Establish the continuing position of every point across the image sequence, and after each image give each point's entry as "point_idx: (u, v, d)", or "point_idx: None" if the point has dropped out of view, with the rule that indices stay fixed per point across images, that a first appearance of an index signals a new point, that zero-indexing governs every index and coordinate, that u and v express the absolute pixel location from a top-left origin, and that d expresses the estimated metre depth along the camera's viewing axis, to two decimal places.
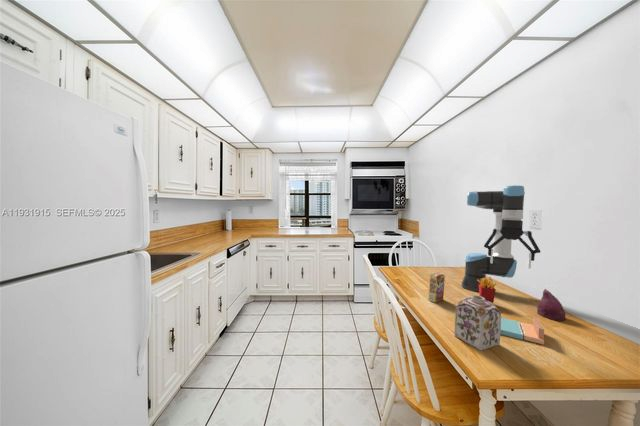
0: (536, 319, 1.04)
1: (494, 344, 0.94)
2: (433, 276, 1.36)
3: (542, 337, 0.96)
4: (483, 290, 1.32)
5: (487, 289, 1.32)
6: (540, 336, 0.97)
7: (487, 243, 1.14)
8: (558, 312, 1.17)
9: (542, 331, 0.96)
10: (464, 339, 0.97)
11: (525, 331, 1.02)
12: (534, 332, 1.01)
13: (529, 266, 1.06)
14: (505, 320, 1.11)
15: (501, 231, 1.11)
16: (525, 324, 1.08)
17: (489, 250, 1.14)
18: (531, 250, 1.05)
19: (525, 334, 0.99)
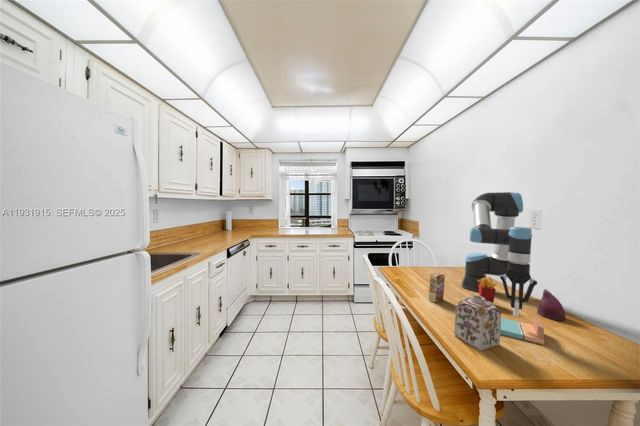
0: (536, 319, 1.04)
1: (494, 344, 0.94)
2: (433, 276, 1.36)
3: (542, 337, 0.96)
4: (483, 290, 1.32)
5: (487, 289, 1.32)
6: (540, 336, 0.97)
7: (507, 293, 1.06)
8: (558, 312, 1.17)
9: (542, 331, 0.96)
10: (464, 339, 0.97)
11: (525, 331, 1.02)
12: (534, 332, 1.01)
13: (517, 315, 1.04)
14: (505, 320, 1.11)
15: (507, 275, 1.06)
16: (525, 324, 1.08)
17: (512, 301, 1.05)
18: (521, 298, 1.03)
19: (525, 334, 0.99)
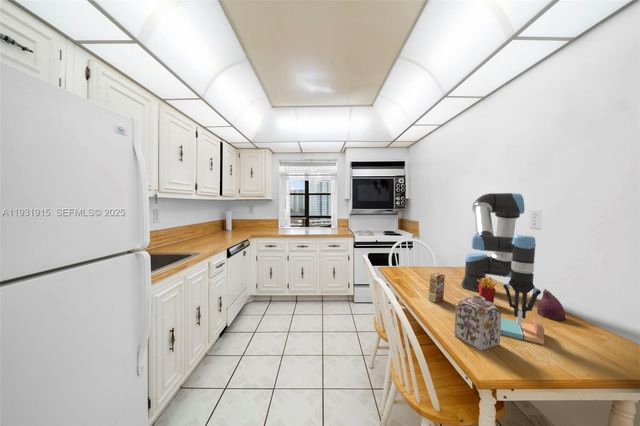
0: (536, 319, 1.04)
1: (494, 344, 0.94)
2: (433, 276, 1.36)
3: (542, 337, 0.96)
4: (483, 290, 1.32)
5: (487, 289, 1.32)
6: (540, 336, 0.97)
7: (510, 302, 1.06)
8: (558, 312, 1.17)
9: (542, 331, 0.96)
10: (464, 339, 0.97)
11: (525, 331, 1.02)
12: (534, 332, 1.01)
13: (520, 324, 1.04)
14: (505, 320, 1.11)
15: (511, 284, 1.05)
16: (525, 324, 1.08)
17: (515, 310, 1.05)
18: (524, 307, 1.03)
19: (525, 334, 0.99)
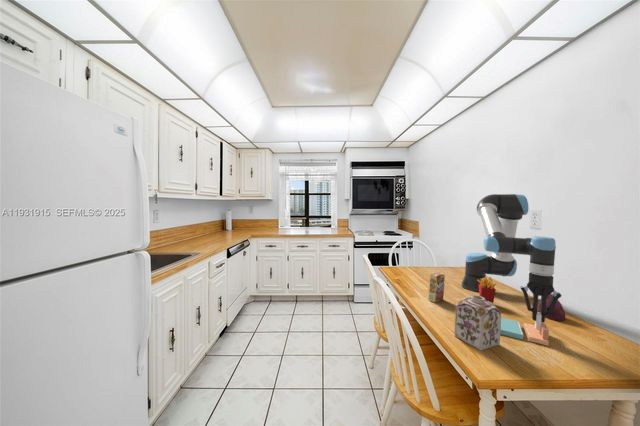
0: None
1: (494, 344, 0.94)
2: (433, 276, 1.36)
3: (546, 338, 0.96)
4: (483, 290, 1.32)
5: (487, 289, 1.32)
6: (544, 337, 0.96)
7: (528, 305, 1.02)
8: (558, 312, 1.17)
9: (546, 332, 0.96)
10: (464, 339, 0.97)
11: (529, 332, 1.01)
12: (538, 333, 1.00)
13: (539, 328, 1.00)
14: (505, 320, 1.11)
15: (529, 287, 1.02)
16: (529, 325, 1.07)
17: (534, 314, 1.01)
18: (543, 311, 0.99)
19: (529, 335, 0.99)
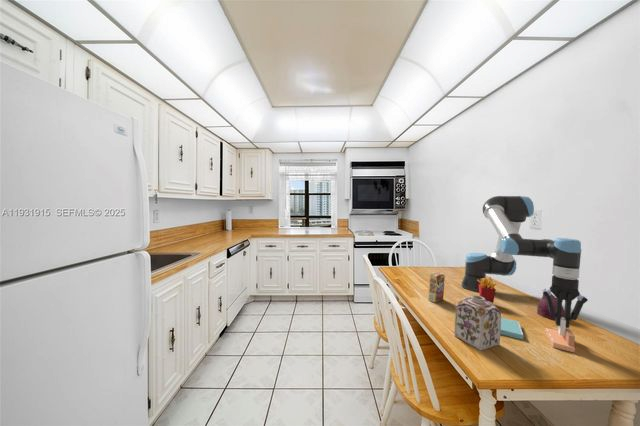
0: None
1: (494, 344, 0.94)
2: (433, 276, 1.36)
3: (572, 344, 0.92)
4: (483, 290, 1.32)
5: (487, 289, 1.32)
6: (570, 343, 0.92)
7: (552, 310, 0.98)
8: None
9: (572, 338, 0.92)
10: (464, 339, 0.97)
11: (553, 338, 0.97)
12: (562, 339, 0.96)
13: (563, 333, 0.96)
14: (505, 320, 1.11)
15: (552, 290, 0.98)
16: (551, 330, 1.03)
17: (558, 319, 0.97)
18: (568, 316, 0.95)
19: (553, 341, 0.95)
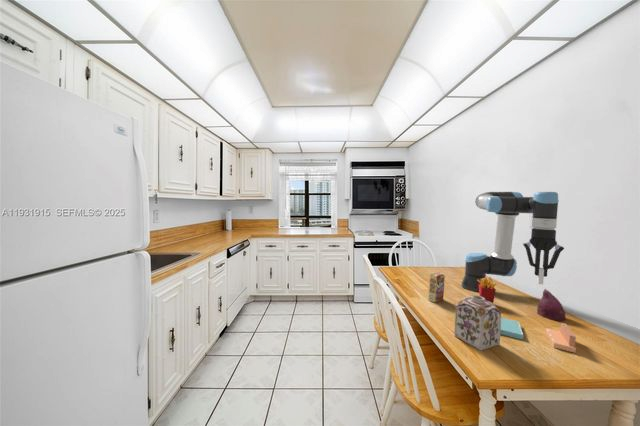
0: (564, 325, 0.99)
1: (494, 344, 0.94)
2: (433, 276, 1.36)
3: (573, 345, 0.91)
4: (483, 290, 1.32)
5: (487, 289, 1.32)
6: (571, 344, 0.92)
7: (531, 261, 1.03)
8: (558, 312, 1.17)
9: (573, 338, 0.91)
10: (464, 339, 0.97)
11: (554, 338, 0.97)
12: (563, 339, 0.96)
13: (541, 282, 1.01)
14: (505, 320, 1.11)
15: (532, 242, 1.02)
16: (552, 330, 1.03)
17: (536, 269, 1.02)
18: (546, 265, 1.00)
19: (554, 341, 0.95)
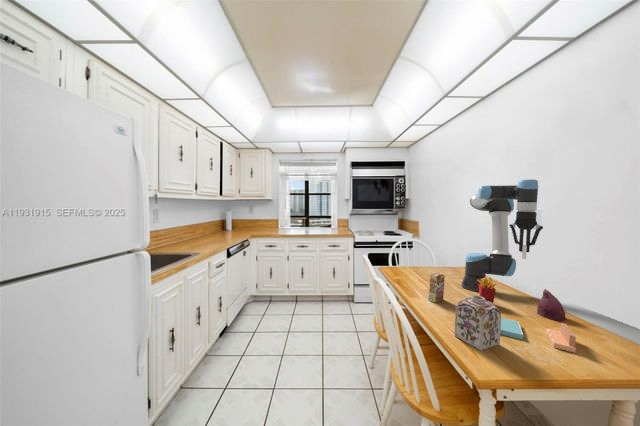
0: (564, 325, 0.99)
1: (494, 344, 0.94)
2: (433, 276, 1.36)
3: (573, 345, 0.91)
4: (483, 290, 1.32)
5: (487, 289, 1.32)
6: (571, 344, 0.92)
7: (516, 239, 1.20)
8: (558, 312, 1.17)
9: (573, 338, 0.91)
10: (464, 339, 0.97)
11: (554, 338, 0.97)
12: (563, 339, 0.96)
13: (524, 257, 1.18)
14: (505, 320, 1.11)
15: (516, 223, 1.19)
16: (552, 330, 1.03)
17: (520, 246, 1.19)
18: (528, 242, 1.17)
19: (554, 341, 0.95)
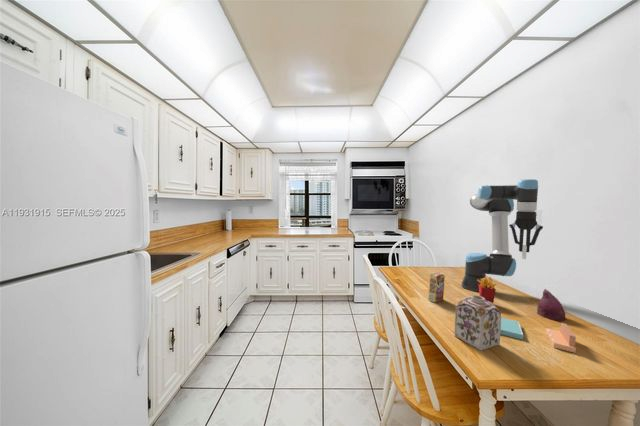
0: (564, 325, 0.99)
1: (494, 344, 0.94)
2: (433, 276, 1.36)
3: (573, 345, 0.91)
4: (483, 290, 1.32)
5: (487, 289, 1.32)
6: (571, 344, 0.92)
7: (515, 239, 1.20)
8: (557, 312, 1.17)
9: (573, 338, 0.91)
10: (464, 339, 0.97)
11: (554, 338, 0.97)
12: (563, 339, 0.96)
13: (524, 257, 1.18)
14: (505, 320, 1.11)
15: (516, 223, 1.19)
16: (552, 330, 1.03)
17: (520, 246, 1.19)
18: (528, 242, 1.17)
19: (554, 341, 0.95)
